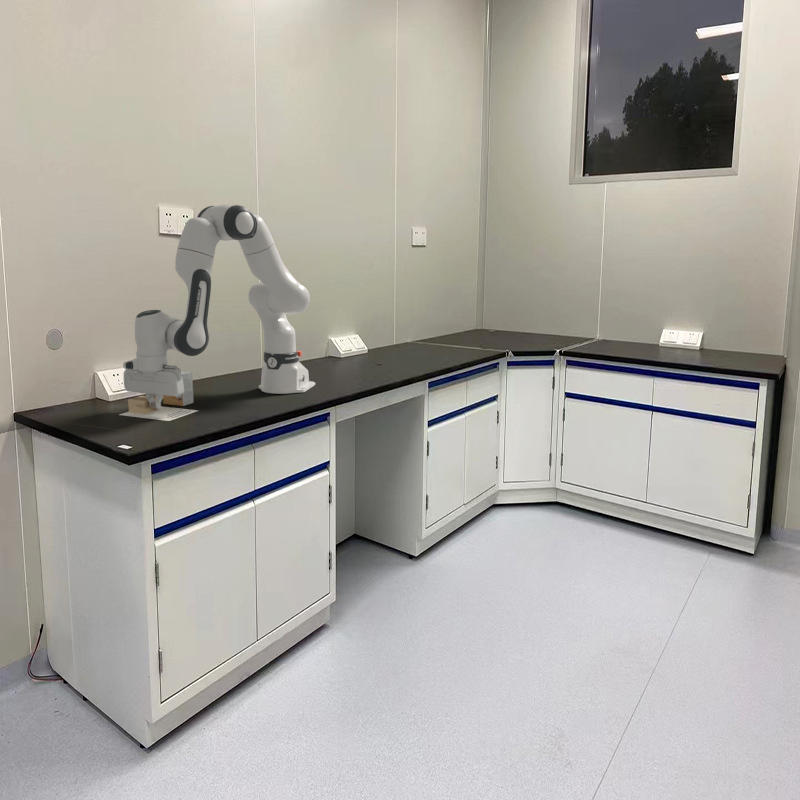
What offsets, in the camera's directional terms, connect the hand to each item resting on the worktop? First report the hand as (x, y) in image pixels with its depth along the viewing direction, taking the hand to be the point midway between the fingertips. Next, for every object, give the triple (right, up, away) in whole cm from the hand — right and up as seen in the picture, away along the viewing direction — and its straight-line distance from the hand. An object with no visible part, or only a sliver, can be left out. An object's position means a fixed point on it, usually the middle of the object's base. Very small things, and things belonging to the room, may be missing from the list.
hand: (155, 407), depth 203 cm
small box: (+3, +1, +13) cm, 14 cm away
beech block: (-5, -1, +2) cm, 5 cm away
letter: (+1, -2, 0) cm, 2 cm away
